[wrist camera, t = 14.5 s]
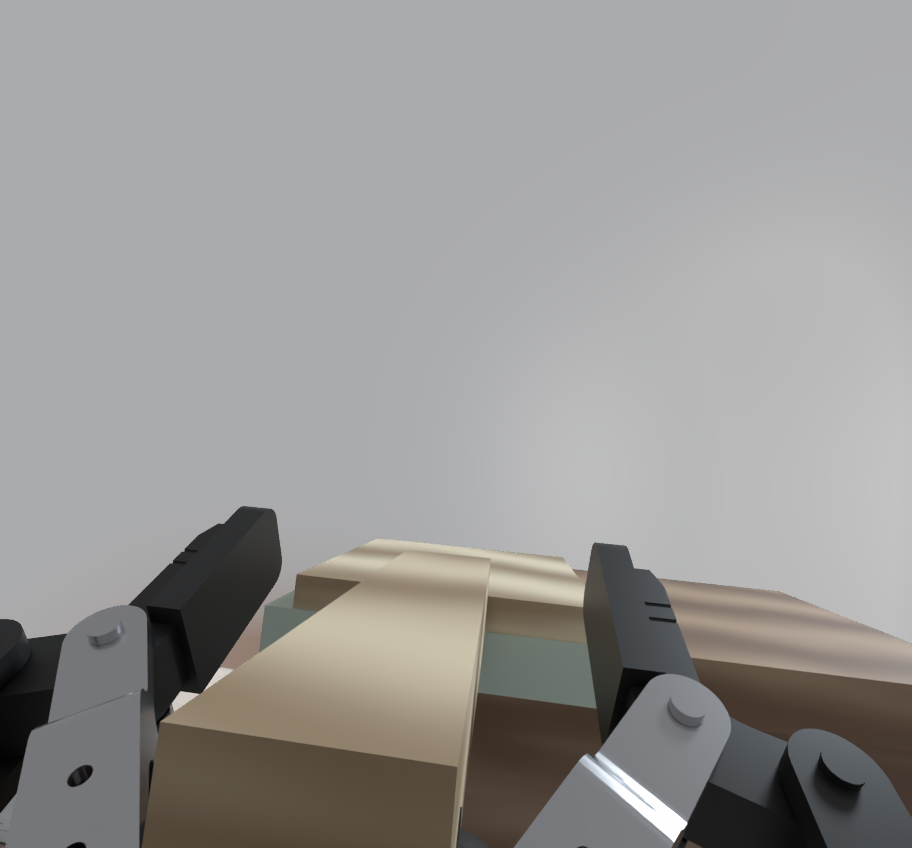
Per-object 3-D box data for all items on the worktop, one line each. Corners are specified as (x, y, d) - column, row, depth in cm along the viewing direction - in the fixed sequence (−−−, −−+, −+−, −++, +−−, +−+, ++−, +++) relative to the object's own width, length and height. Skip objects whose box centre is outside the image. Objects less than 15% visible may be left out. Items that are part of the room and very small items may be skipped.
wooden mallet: (924, 1174, 4) (921, 837, 4) (-240, 923, 5) (-183, 669, 5) (561, 578, 29) (564, 534, 29) (376, 558, 30) (380, 516, 30)
